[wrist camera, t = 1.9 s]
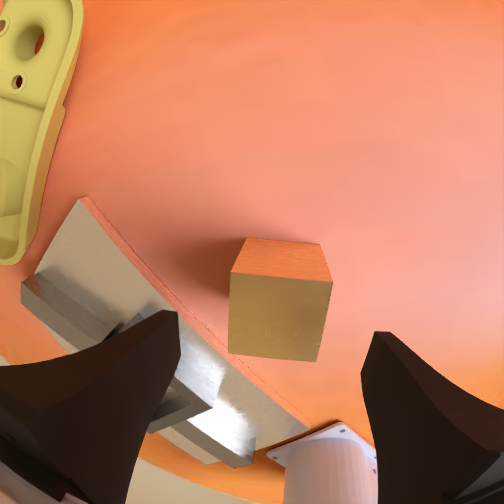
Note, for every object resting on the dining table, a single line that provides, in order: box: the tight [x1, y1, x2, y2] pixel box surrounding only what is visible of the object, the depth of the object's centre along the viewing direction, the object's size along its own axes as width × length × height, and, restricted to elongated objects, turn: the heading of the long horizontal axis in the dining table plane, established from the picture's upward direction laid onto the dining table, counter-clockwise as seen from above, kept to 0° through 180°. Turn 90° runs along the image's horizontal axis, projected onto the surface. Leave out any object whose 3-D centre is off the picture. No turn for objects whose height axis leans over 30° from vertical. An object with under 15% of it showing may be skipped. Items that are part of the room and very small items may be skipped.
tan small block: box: [228, 238, 333, 362], centre depth 14 cm, size 4×4×5 cm
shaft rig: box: [21, 196, 310, 468], centre depth 19 cm, size 23×12×3 cm, turn 41°
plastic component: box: [0, 0, 84, 266], centre depth 13 cm, size 20×7×10 cm
